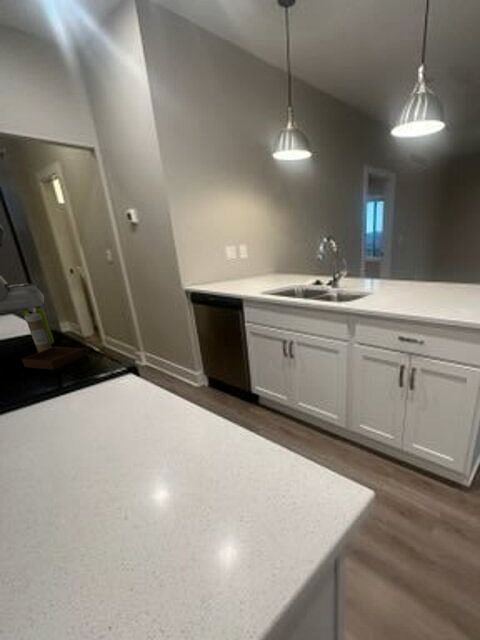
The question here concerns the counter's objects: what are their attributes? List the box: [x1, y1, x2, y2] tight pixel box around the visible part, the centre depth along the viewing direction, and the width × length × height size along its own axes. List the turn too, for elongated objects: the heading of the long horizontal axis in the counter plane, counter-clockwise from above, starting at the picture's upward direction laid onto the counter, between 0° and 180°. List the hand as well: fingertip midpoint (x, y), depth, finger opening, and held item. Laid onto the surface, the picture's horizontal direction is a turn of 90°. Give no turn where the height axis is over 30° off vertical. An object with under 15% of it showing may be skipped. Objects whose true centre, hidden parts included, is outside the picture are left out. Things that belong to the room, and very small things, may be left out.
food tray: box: [21, 346, 85, 371], centre depth 111 cm, size 12×11×3 cm
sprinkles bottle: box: [24, 313, 53, 353], centre depth 119 cm, size 5×5×13 cm
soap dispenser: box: [22, 306, 55, 345], centre depth 125 cm, size 6×7×20 cm
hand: (15, 313), depth 105 cm, fingers open, 8 cm apart
